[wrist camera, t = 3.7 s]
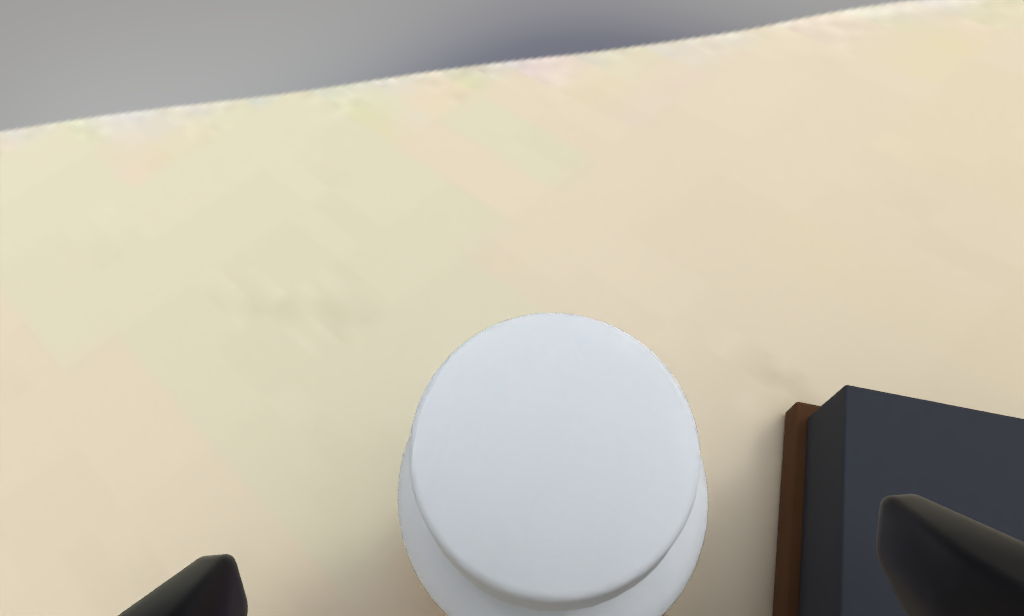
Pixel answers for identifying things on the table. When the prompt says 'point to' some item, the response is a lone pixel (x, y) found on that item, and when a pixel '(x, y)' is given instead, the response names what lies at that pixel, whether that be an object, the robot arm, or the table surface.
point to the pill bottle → (553, 475)
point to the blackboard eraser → (881, 490)
